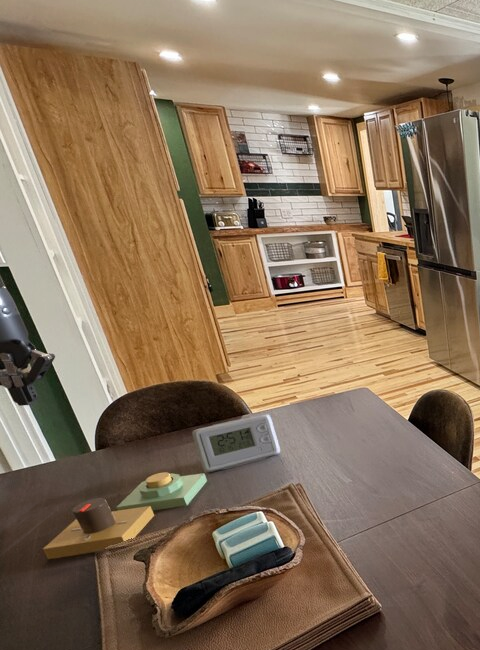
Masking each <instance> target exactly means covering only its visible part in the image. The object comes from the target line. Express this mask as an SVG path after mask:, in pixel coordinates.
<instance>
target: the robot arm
mask: <svg viewBox="0 0 480 650" xmlns="http://www.w3.org/2000/svg"><path fill="white" fill-rule="evenodd" d="M55 358H56V355H55V354H54V353H52V352H48V353H44V352H42V351H41V350H37V347H36V346H35V344H33V343H32V342H31V341H30V340H29V331H28V329H27V326H26V325H25V323H24V320H23V318H22V316H21V314H20V311H19V308H18V307H17V304H16V302H15V300H14V298H13V297H12V295H11V293H10V292H9V291H8V289H7V287H6V285H5V282H4V280H3V278H2V276H1V275H0V386H1V387H3V388H4V389H7V391H8V393H9V396H10V397H11V399H12V401H13V402H14V403H15V404H17V405H18V406H19V407H22V406H31V405H33V404H36V403H37V400H39V395H38V393H37V390H36V389H35V385H34V383H35V382H38V381H40V380H42V379H44V377H45V376H46V374H47V372H48V370H49V369H50V367H51V366H52V364H53V362H54V360H55ZM31 363H32V364H33V365H31Z"/></svg>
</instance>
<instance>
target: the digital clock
mask: <svg viewBox="0 0 480 650" xmlns="http://www.w3.org/2000/svg"><path fill="white" fill-rule="evenodd" d="M191 433H192V438H193V442H194V444H195V448H196V451H197V454H198V458H199V460H200V464H201V468H202V470H203V471H204V472H205V473H214V472H216V471H220V470H227V469H231V468H236V467H238V466H239V467H240V466H243V465H246V464H250V463H254V462H258V461H261V460H262V461H263V460H265V459H266V458H270V457H272V456H273V457H274V456H277V455H279V454H280V453H281V446H280V443H279V440H278V438H277V433H276V430H275V426H274V423H273V420H272V417H271V415H270V414H269V413H264V414H259V415H254V416H247V417H242V418H239V419H238V418H237V419H233V420H229V421H225V422H219V423H215V424H212V425H210V426H205V427H200V428H197V429H194V430H193V431H192V432H191Z"/></svg>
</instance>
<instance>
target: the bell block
mask: <svg viewBox="0 0 480 650" xmlns="http://www.w3.org/2000/svg"><path fill="white" fill-rule="evenodd" d="M169 474H170V476H171V479H172V482H170V483H169V484H167V485H165V486H161V487H158V488H152V489H150V488H148V485H147V483H146V480H144V481H141V483H140V484H138V485H137V486H136V487H135V489H133V490H132V491H131V492H130V493H129V494H128V495H127V496H126V497H125V498H124V499H123V500H122V501H121V502H120V503H119V504H118V505H116V507H115V508H116V511H119V510H126V509H133V508H140V507H147V506H150V507H151V509H152V511H153V512H154V511H160V510H167V509H173V508H178V507H179V508H180V507H186V506H188V505H189V504H190V503H191V502H192V500H193V499H194V497H196V495H197V494H198V493H199V492H200V490H201V489H202V488H203V486H205V484H206V483H207V482H208V479H207V476H206V475H205V473H196V474H187V475H180V474H178V473H169Z"/></svg>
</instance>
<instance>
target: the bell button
mask: <svg viewBox="0 0 480 650" xmlns="http://www.w3.org/2000/svg"><path fill="white" fill-rule="evenodd" d="M170 474H171V473H169V472H167V471H164V472H158V473H155V474H152V475H150V476H148V477H147V478H146V479H145V481H146V483H147V485H148V488H150V489H152V488H158V487H161V486H165V485H167V484H169V483H170V482H172V479H171V476H170Z"/></svg>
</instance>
